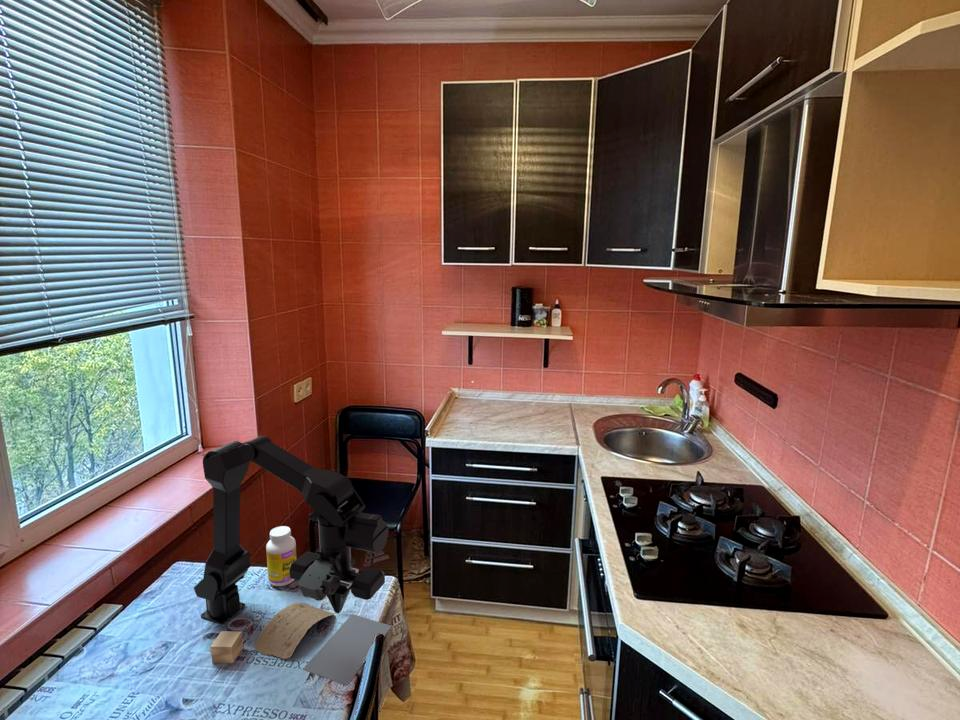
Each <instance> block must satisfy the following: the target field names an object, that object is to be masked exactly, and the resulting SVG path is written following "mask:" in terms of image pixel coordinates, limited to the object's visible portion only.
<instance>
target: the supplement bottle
mask: <svg viewBox="0 0 960 720" xmlns="http://www.w3.org/2000/svg"><path fill="white" fill-rule="evenodd" d="M265 550H266V566H267V567H266V568H267V577H268V583H269V584H270V585H271V586H273V587H284V586H288V585H289V584H292V583H293V582H294V581H295V579H292V578H290V575H289V567H290V565H291V564H292V563H293V562H294V561H295V560H296V559H298V557H297V544H296V539H295V538H294V537H293V536H292V531H291V528H290V526H287V525H281V526H280V525H279V526H276V527H274V528H272V529H271V530H270V531H269V540H268V542H267V543H266V545H265Z"/></svg>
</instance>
